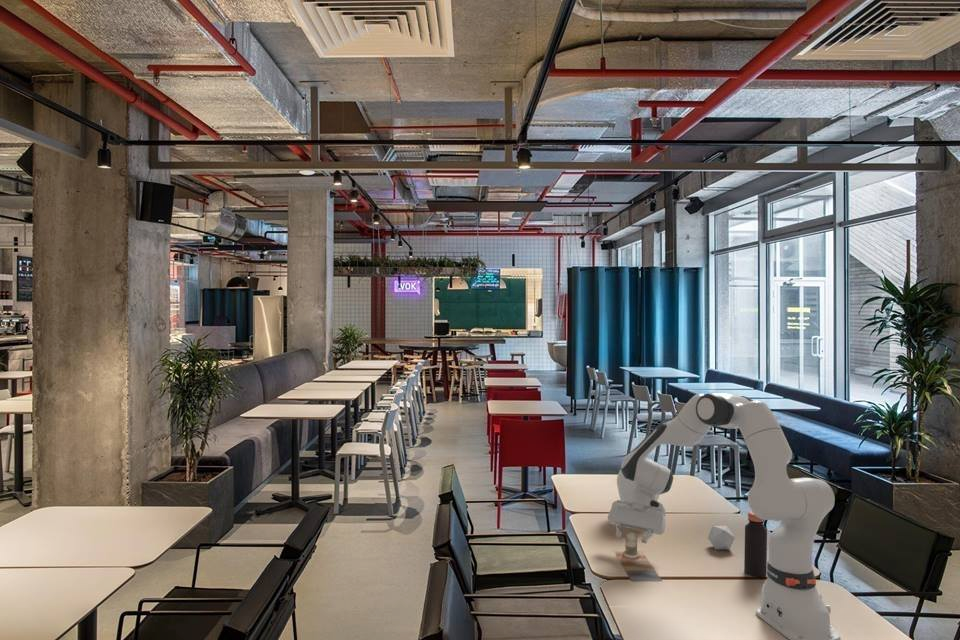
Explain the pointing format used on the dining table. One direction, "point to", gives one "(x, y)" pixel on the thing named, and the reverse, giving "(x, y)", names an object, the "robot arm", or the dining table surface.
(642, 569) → the game board
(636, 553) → the pawn
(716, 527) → the die
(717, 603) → the dining table surface
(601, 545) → the dining table surface
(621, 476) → the vase
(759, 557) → the bottle
